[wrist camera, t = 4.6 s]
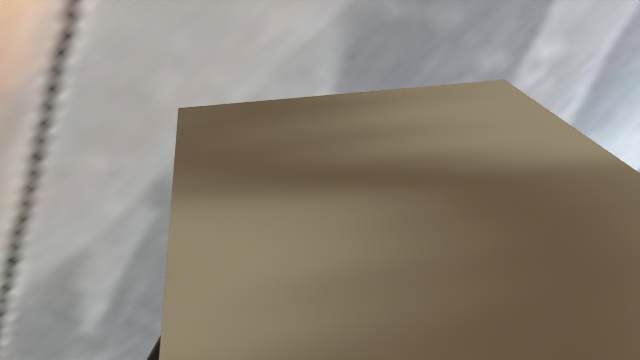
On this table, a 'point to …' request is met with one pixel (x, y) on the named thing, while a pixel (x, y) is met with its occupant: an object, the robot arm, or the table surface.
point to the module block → (399, 231)
